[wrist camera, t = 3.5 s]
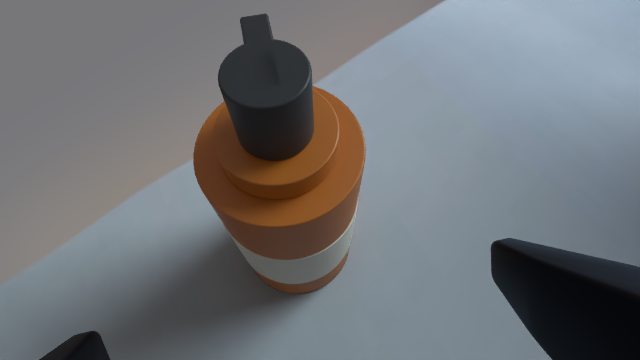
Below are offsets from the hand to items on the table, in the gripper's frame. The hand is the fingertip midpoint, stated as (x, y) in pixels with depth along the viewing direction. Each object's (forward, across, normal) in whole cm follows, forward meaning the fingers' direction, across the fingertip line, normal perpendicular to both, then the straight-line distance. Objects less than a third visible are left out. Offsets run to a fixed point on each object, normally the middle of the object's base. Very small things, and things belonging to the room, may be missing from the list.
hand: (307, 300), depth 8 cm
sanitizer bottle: (+12, 0, +5) cm, 13 cm away
